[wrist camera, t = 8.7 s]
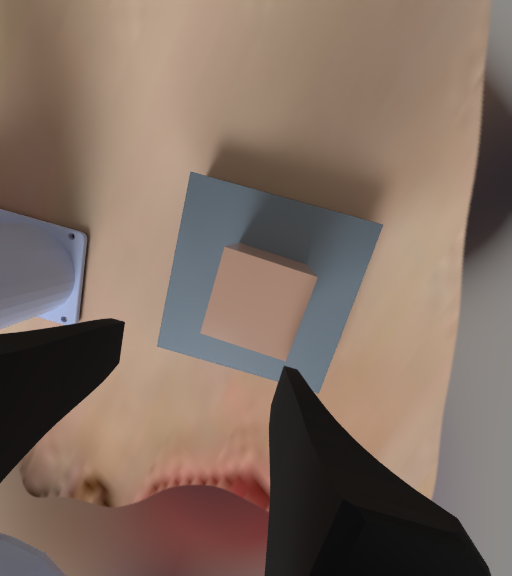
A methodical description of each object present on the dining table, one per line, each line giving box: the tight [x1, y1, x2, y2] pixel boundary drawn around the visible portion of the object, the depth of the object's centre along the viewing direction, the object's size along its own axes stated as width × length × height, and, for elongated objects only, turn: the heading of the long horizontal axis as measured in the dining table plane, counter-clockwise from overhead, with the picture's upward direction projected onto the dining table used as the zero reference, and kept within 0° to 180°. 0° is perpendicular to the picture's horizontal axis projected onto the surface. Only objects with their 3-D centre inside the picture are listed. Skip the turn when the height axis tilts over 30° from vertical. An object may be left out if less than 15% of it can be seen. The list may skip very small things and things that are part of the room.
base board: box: [157, 172, 383, 393], centre depth 18 cm, size 12×12×3 cm
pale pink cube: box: [200, 242, 318, 361], centre depth 14 cm, size 4×4×4 cm
